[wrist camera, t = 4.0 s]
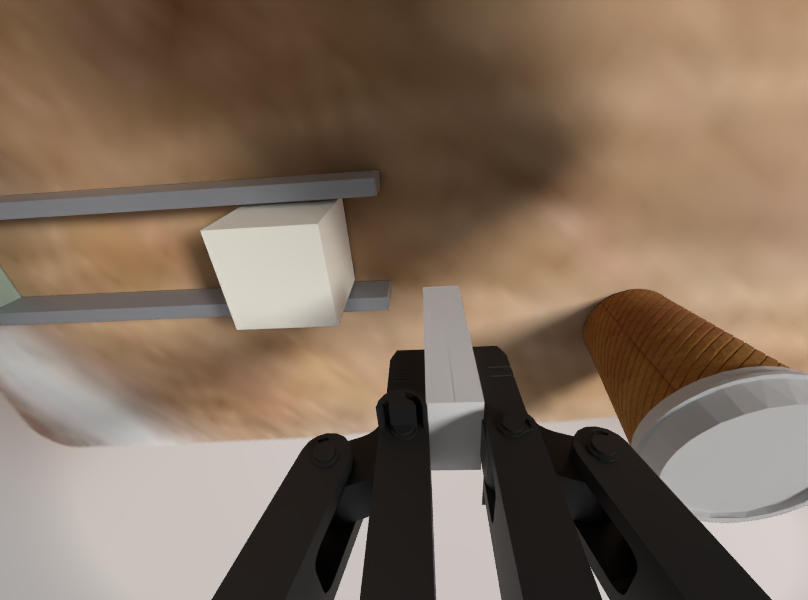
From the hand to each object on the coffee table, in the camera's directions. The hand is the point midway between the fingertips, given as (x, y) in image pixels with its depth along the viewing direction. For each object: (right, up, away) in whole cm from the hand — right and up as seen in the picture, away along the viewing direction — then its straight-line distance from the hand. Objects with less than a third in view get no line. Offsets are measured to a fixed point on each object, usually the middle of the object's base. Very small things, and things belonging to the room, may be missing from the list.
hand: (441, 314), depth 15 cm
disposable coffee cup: (+15, -1, +11) cm, 19 cm away
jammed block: (-8, +5, +9) cm, 13 cm away
